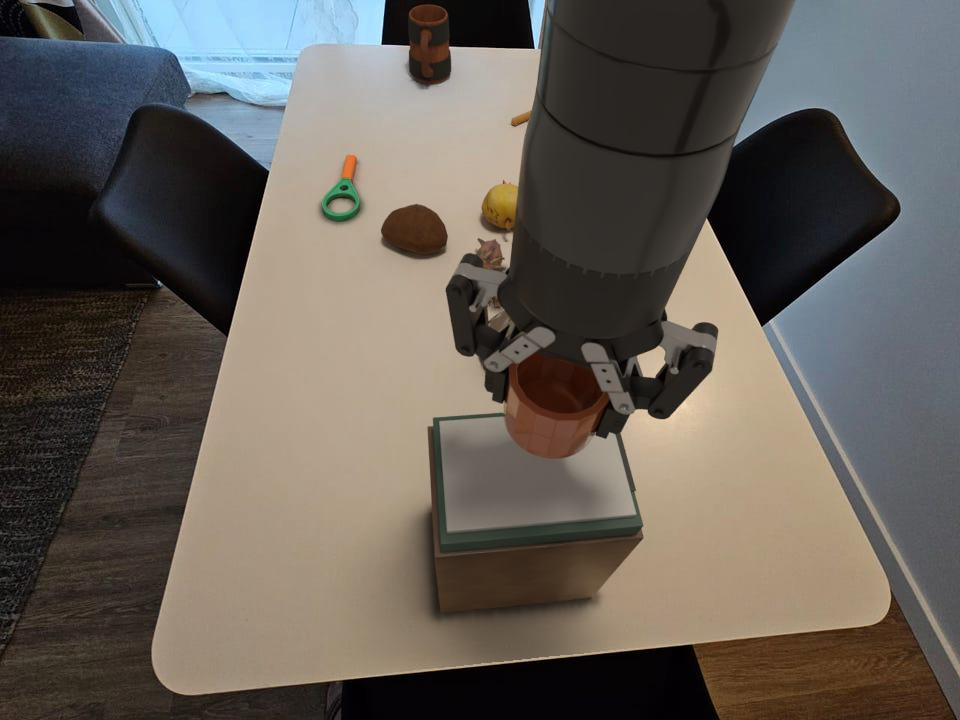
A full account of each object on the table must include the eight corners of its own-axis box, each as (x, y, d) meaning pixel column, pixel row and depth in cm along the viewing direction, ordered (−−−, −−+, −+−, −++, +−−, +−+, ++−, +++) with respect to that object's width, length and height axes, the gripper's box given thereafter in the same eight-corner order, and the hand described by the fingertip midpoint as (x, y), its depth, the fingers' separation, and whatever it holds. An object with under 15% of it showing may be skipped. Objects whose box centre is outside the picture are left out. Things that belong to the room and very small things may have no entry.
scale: (607, 416, 49) (613, 400, 47) (638, 534, 44) (647, 523, 41) (433, 428, 48) (432, 413, 46) (441, 552, 42) (440, 542, 40)
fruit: (534, 216, 85) (532, 173, 91) (490, 205, 84) (491, 162, 89) (518, 247, 91) (517, 205, 96) (477, 238, 89) (478, 195, 95)
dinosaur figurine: (499, 322, 81) (504, 277, 73) (458, 317, 81) (459, 271, 73) (509, 254, 88) (514, 207, 81) (472, 249, 89) (473, 202, 81)
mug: (403, 92, 113) (399, 31, 104) (412, 61, 120) (409, 1, 110) (447, 96, 113) (446, 35, 103) (453, 64, 120) (453, 4, 110)
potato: (389, 223, 91) (385, 187, 86) (453, 233, 91) (453, 198, 85) (377, 253, 87) (372, 218, 82) (443, 264, 87) (443, 229, 81)
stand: (572, 497, 66) (610, 412, 50) (592, 597, 60) (644, 538, 43) (434, 509, 65) (427, 426, 48) (440, 613, 58) (434, 557, 42)
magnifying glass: (357, 222, 91) (355, 214, 90) (319, 220, 91) (317, 212, 90) (369, 163, 100) (368, 155, 99) (335, 162, 100) (333, 153, 98)
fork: (516, 121, 106) (593, 85, 113) (510, 114, 107) (587, 79, 114) (514, 131, 108) (588, 95, 116) (508, 125, 109) (582, 89, 116)
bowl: (606, 394, 39) (623, 351, 35) (583, 472, 35) (600, 435, 31) (520, 366, 40) (527, 321, 36) (490, 440, 37) (494, 400, 32)
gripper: (408, 212, 22) (427, 420, 36) (787, 319, 20) (651, 498, 33) (476, 112, 26) (469, 333, 40) (796, 190, 24) (672, 397, 38)
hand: (552, 407), depth 37 cm, fingers closed on bowl, 6 cm apart
